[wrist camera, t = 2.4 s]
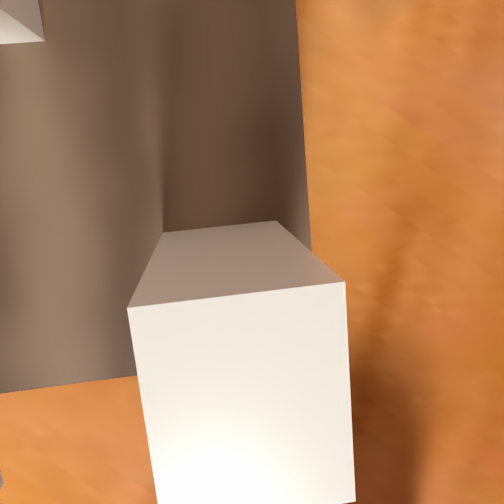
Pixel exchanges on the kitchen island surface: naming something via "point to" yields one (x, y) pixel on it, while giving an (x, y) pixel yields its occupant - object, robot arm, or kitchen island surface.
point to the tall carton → (244, 369)
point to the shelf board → (133, 163)
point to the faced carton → (20, 22)
